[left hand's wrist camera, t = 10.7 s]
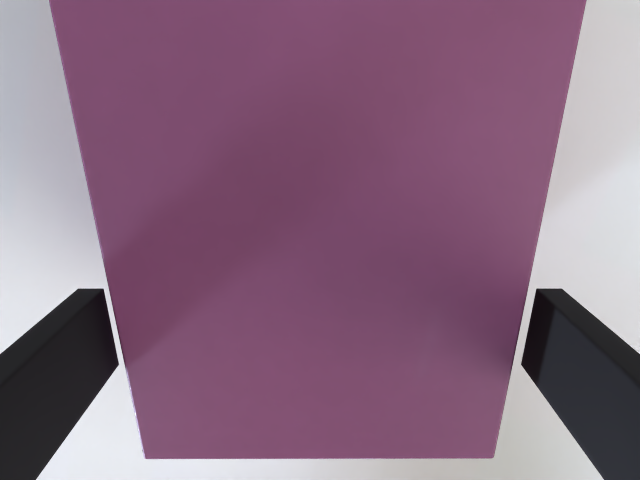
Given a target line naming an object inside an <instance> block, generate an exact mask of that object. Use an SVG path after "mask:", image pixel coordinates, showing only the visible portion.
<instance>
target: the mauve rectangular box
mask: <svg viewBox="0 0 640 480" xmlns="http://www.w3.org/2000/svg"><path fill="white" fill-rule="evenodd" d="M49 2H50V7H51V12H52V17H53V22H54V26H55V31H56V36H57V41H58V46H59V51H60V55H61V60H62V65H63V70H64V75H65V79H66V84H67V89H68V94H69V99H70V103H71V108H72V113H73V118H74V123H75V128H76V132H77V137H78V142H79V147H80V152H81V156H82V161H83V166H84V171H85V176H86V180H87V185H88V190H89V195H90V200H91V205H92V209H93V214H94V219H95V224H96V229H97V233H98V238H99V243H100V248H101V253H102V258H103V262H104V267H105V272H106V277H107V282H108V286H109V291H110V296H111V301H112V306H113V310H114V315H115V320H116V325H117V330H118V335H119V339H120V344H121V349H122V354H123V359H124V363H125V368H126V373H127V378H128V383H129V387H130V392H131V397H132V402H133V407H134V412H135V416H136V421H137V426H138V431H139V436H140V440H141V445H142V450H143V455H144V458H145V459H397V458H493V457H494V453H495V449H496V444H497V439H498V434H499V429H500V424H501V419H502V414H503V409H504V404H505V399H506V394H507V389H508V384H509V379H510V375H511V370H512V365H513V360H514V355H515V350H516V345H517V340H518V335H519V330H520V325H521V320H522V315H523V310H524V305H525V300H526V296H527V291H528V286H529V281H530V276H531V271H532V266H533V261H534V256H535V251H536V246H537V241H538V236H539V231H540V226H541V221H542V217H543V212H544V207H545V202H546V197H547V192H548V187H549V182H550V177H551V172H552V167H553V162H554V157H555V152H556V147H557V143H558V138H559V133H560V128H561V123H562V118H563V113H564V108H565V103H566V98H567V93H568V88H569V83H570V78H571V73H572V68H573V64H574V59H575V54H576V49H577V44H578V39H579V34H580V29H581V24H582V19H583V14H584V9H585V4H586V0H49Z"/></svg>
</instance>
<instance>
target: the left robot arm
mask: <svg viewBox="0 0 640 480" xmlns="http://www.w3.org/2000/svg"><path fill="white" fill-rule="evenodd" d="M118 365H119V363H118V358H117V353H116V348H115V343H114V338H113V333H112V328H111V323H110V318H109V313H108V308H107V304H106V299H105V294H104V289H77V290H76V291H75V292H74V293H73V294H71V295H70V296H69V297H68V298H67V299H65V300H64V301H63V302H62V303H61V304H59V305H58V306H57V307H56V308H55V309H54V310H52V311H51V312H50V313H49V314H48V315H46V316H45V317H44V318H43V319H42V320H40V321H39V322H38V323H37V324H36V325H34V326H33V327H32V328H31V329H30V330H29V331H27V332H26V333H25V334H24V335H23V336H21V337H20V338H19V339H18V340H17V341H15V342H14V343H13V344H12V345H11V346H9V347H8V348H7V349H6V350H5V351H4V352H2V353H1V354H0V480H36V479H37V477H38V476H39V475H40V473H41V472H42V470H43V469H44V468H45V466H46V465H47V463H48V462H49V461H50V459H51V458H52V456H53V455H54V454H55V452H56V451H57V450H58V448H59V447H60V445H61V444H62V443H63V441H64V440H65V438H66V437H67V436H68V434H69V433H70V432H71V430H72V429H73V427H74V426H75V425H76V423H77V422H78V420H79V419H80V418H81V416H82V415H83V414H84V412H85V411H86V409H87V408H88V407H89V405H90V404H91V402H92V401H93V400H94V398H95V397H96V395H97V394H98V393H99V391H100V390H101V389H102V387H103V386H104V384H105V383H106V382H107V380H108V379H109V377H110V376H111V375H112V373H113V372H114V371H115V369H116V368H117V366H118ZM521 365H522V366H523V368H524V369H525V371H526V372H527V373H528V375H529V376H530V377H531V379H532V380H533V382H534V383H535V384H536V386H537V387H538V389H539V390H540V391H541V393H542V394H543V395H544V397H545V398H546V400H547V401H548V402H549V404H550V405H551V407H552V408H553V409H554V411H555V412H556V414H557V415H558V416H559V418H560V419H561V420H562V422H563V423H564V425H565V426H566V427H567V429H568V430H569V432H570V433H571V434H572V436H573V437H574V438H575V440H576V441H577V443H578V444H579V445H580V447H581V448H582V450H583V451H584V452H585V454H586V455H587V456H588V458H589V459H590V461H591V462H592V463H593V465H594V466H595V468H596V469H597V470H598V472H599V473H600V475H601V476H602V477H603V479H604V480H640V354H639V353H638V352H636V351H635V350H634V349H633V348H632V347H631V346H629V345H628V344H627V343H626V342H625V341H623V340H622V339H621V338H620V337H619V336H617V335H616V334H615V333H614V332H613V331H611V330H610V329H609V328H608V327H607V326H606V325H604V324H603V323H602V322H601V321H600V320H598V319H597V318H596V317H595V316H594V315H592V314H591V313H590V312H589V311H588V310H586V309H585V308H584V307H583V306H582V305H581V304H579V303H578V302H577V301H576V300H575V299H573V298H572V297H571V296H570V295H569V294H567V293H566V292H565V291H564V290H563V289H536V294H535V299H534V304H533V308H532V313H531V318H530V323H529V328H528V333H527V338H526V343H525V348H524V353H523V358H522V363H521Z"/></svg>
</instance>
